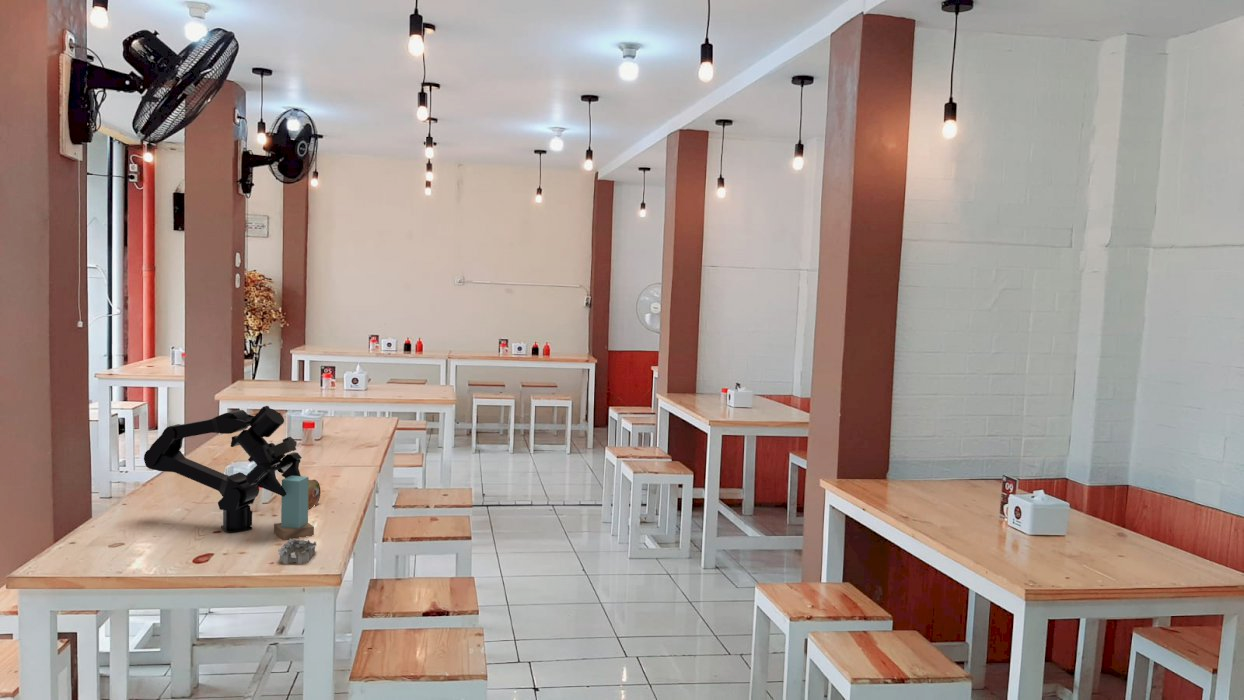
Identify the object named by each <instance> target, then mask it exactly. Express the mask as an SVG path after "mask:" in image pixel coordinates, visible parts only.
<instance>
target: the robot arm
mask: <svg viewBox="0 0 1244 700" xmlns="http://www.w3.org/2000/svg"><path fill="white" fill-rule="evenodd" d="M284 423H285V418H284V416H283V415H282V414H281V412H278V411H277V410H275V409H273V408H270V406H269V405H264V406H262V407H261V408H260V409H259V411H258V412H257V413H256V414H255V415H252V414H248V413H247V412H246V411H245V410H244V409H238V410H233V411H228V412H225V413H222V414H219V415H218V416H215V417H213V418H210V419H205V420H200V421H193V422H188V423H183V424H182V423H181V424H178V423H177V424H174V425H169V426H167V427H166V428H165V429H164V430H163V432H162V433H161V435H159V437H158V438H157V439H156V440H155V441H154V442H153V443H152V444H151V445H150V447H149V449H147V450H146V451H145V452H144V455H143V461H144V465H145V467H146V468H147V469H150V470H153V471H158V472H166V473H167V472H168V473H175V474H177V475H180V476H182V477H185V478H188V479H190V480H192V481H194V482H197V483H199V484H201V485H204V486H205V487H208V488H211V489H213V490H215V491H217V492H219V493H220V495H221V496H222V498H220V499H219V501H218V502H217V504H218V508H219V511H222V524H221V526H220V527H221V529H223V530H224V531H225V532H226V533H227V534H229V533H235V532H236V533H237V532H243V531H250V530H253V526H252V525H253V511H252V510H251V505H253V504H254V501H255V500H256V498H257V496H258V495H259V494H260V488H261V489H264V490H267V491H269V492H272V493H274V494H276V495H278V496H281V497H282V496H283V497H284V496H285V495H286V492H285V490H284V489H283V487H282V483H280V481H279V480H278V479H277V478H276V471H278V472H279V473H280V474H281V476H282V477H283V478H284V479H285V478H287V477H289V476H302V475H301V473H300V470H299V466H300V463H301V459H302V456H301V455H300V453H299V452H295V451H297V448H296V446H297V444H298V442H297V441H296V440H295V439H294V438H293V437H292V436H288V437H286V438H283V439H282V442H280V443H277V444H275V443H273V442H270V443H268V442H267V440H266V439H265V438H269V437H271V436H272V435H273V434H274V433H275V432H276V431H277V430H278V429H279V428H280V427H281V426H282V425H283V424H284ZM238 432H240V433H239V434H237V435H234V436H231V442H230V447H231V448H233V447H238V446H240V447H241V448H242V449H243V451H245V453H246V454H247V455H248V456H249V457H248V459H247V460H248V462H249V463H253V462H254V463H255V466H254V467H253V468H252V469H251V470H250V471H249V472H248V473H247V474H245V473H243V472H241V471H240V472H236V473H233V474H231V475H228V474H225V473H222V472H220V471H217V470H216V469H213V468H210V467H208V466H206V465H203V464H201V463H198V462H196V461H194V460H192V459H189V458H186V457H185V455H184V454H183V453H182V451H181V449H182V447H183V440H184V439H185V438H191V437H195V436H200V435H206V434H211V433H212V434H213V433H214V434H219V435H221V434H222V435H223V434H225V435H228V434H229V435H230V434H234V433H238ZM264 437H265V438H264Z"/></svg>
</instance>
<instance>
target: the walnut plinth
mask: <svg viewBox="0 0 1244 700" xmlns="http://www.w3.org/2000/svg"><path fill="white" fill-rule="evenodd" d="M273 533H274V534H275V535H276V536H277V537H279V538H280V539H281V538H282V539H281V540H282V541H288V540H289V539H290V538H291V539H293V538H296V539H300V538H299V537H302V538H307V537H306V536H309V537H313V536H312V535H315V526H313V524H311V523H309V522H308V524H306V525H304V526H303V527H301V528H299V529H296V528H285V527H281V522H278V523H273Z"/></svg>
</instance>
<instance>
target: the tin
mask: <svg viewBox="0 0 1244 700" xmlns="http://www.w3.org/2000/svg"><path fill="white" fill-rule="evenodd" d="M320 498H321V485H320V483H319V481H318V480H316V479H309V481H308V508H310V509H312V508H311V507H313V506H314V505H316V506H317V505H318V503H319V501H320ZM313 508H314V507H313Z"/></svg>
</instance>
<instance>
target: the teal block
mask: <svg viewBox="0 0 1244 700" xmlns="http://www.w3.org/2000/svg"><path fill="white" fill-rule="evenodd" d="M309 480H310V479H309V476H302V475H301V476H289V477H287V478H285V477H284V478H283V479H281V486H282V487H283V489H284V490H285V492H286V495H285V496H284V497H283V496H281V504H280V505H281V509H280V511H281V518H280V519H281V520H280V523H281V527H285V528H296V529H299V528H301V527H303V526H304V525H306V524H308V523H309V509H308V481H309Z"/></svg>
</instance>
